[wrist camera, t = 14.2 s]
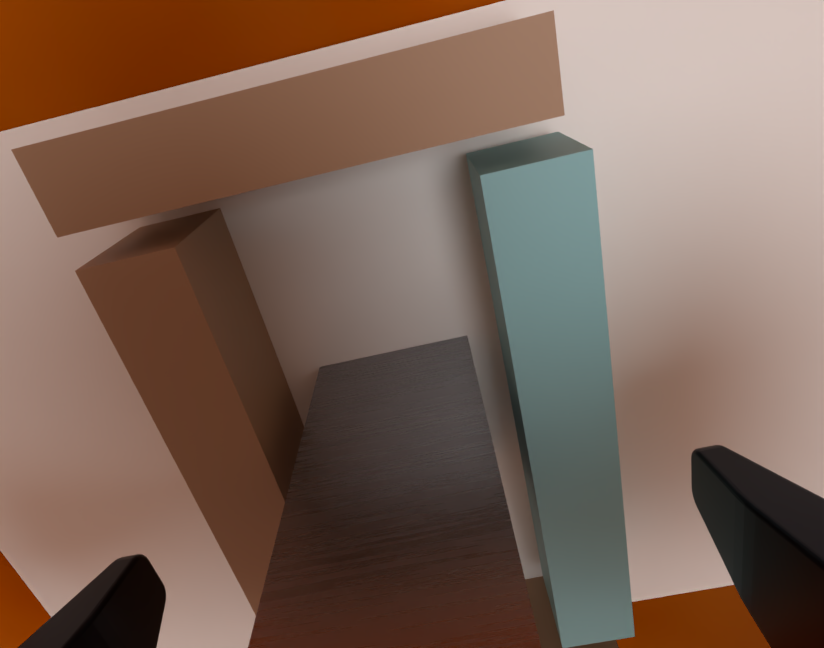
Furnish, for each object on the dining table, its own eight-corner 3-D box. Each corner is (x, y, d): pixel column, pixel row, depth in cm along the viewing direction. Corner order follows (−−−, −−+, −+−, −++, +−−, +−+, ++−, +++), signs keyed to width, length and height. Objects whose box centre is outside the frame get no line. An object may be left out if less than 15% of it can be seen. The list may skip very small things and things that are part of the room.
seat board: (911, -103, 9) (1157, -177, 6) (828, 532, 15) (932, 648, 12) (-211, 188, 10) (-441, 240, 8) (123, 655, 16) (64, 783, 14)
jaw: (558, 131, 9) (592, 149, 7) (606, 565, 13) (635, 636, 12) (465, 153, 9) (480, 175, 7) (542, 576, 13) (562, 648, 12)
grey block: (467, 335, 11) (557, 717, 5) (492, 454, 12) (590, 879, 6) (319, 367, 11) (216, 770, 5) (359, 480, 13) (318, 915, 6)
